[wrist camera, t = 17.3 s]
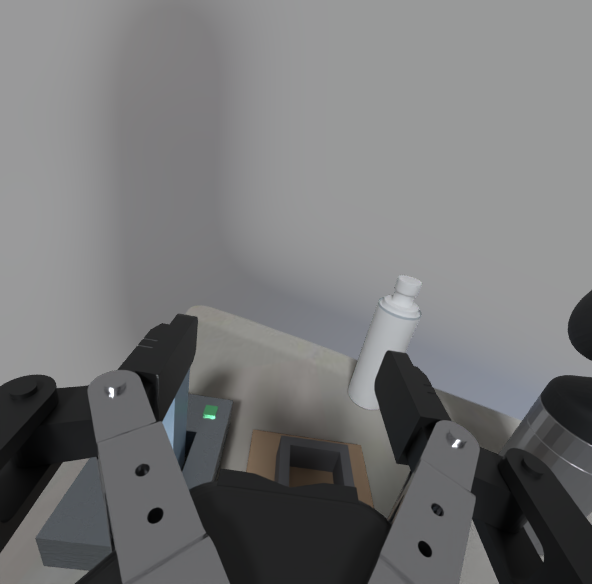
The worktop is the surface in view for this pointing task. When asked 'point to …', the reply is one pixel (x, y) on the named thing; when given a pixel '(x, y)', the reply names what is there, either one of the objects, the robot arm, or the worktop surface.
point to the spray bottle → (385, 338)
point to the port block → (89, 501)
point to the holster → (308, 462)
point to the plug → (178, 421)
